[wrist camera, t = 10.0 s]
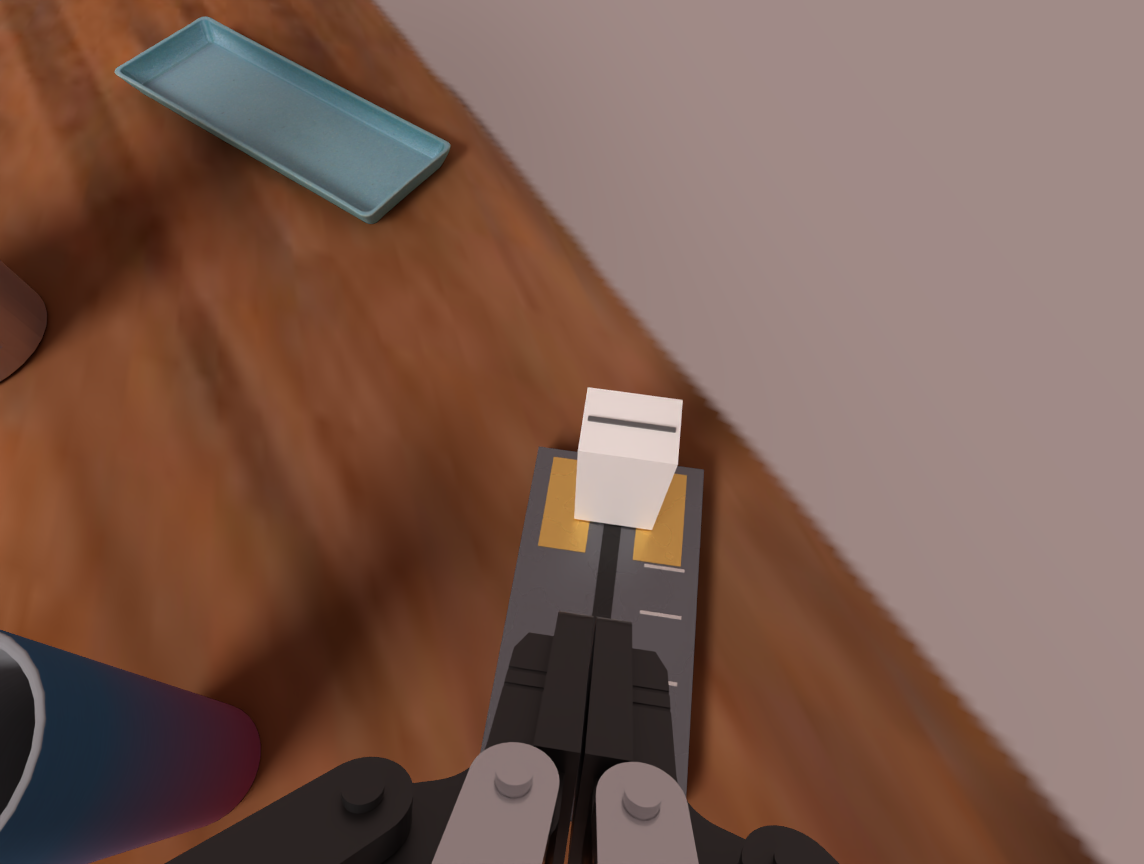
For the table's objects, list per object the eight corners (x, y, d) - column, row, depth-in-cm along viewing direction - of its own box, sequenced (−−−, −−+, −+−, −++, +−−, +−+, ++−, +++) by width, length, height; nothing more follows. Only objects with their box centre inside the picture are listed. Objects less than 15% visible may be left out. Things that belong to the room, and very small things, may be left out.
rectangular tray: (458, 166, 47) (453, 138, 45) (374, 241, 44) (365, 213, 42) (219, 44, 54) (205, 13, 52) (130, 100, 50) (110, 70, 48)
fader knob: (652, 530, 32) (678, 463, 25) (574, 518, 32) (578, 449, 25) (656, 476, 33) (683, 398, 26) (582, 466, 34) (587, 386, 26)
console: (677, 834, 28) (689, 841, 25) (475, 799, 28) (467, 803, 26) (699, 466, 36) (709, 444, 33) (542, 445, 36) (541, 421, 34)
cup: (198, 657, 31) (-79, 577, 17) (312, 727, 29) (105, 699, 16) (90, 801, 28) (-342, 838, 14) (210, 886, 26) (-145, 1014, 13)
